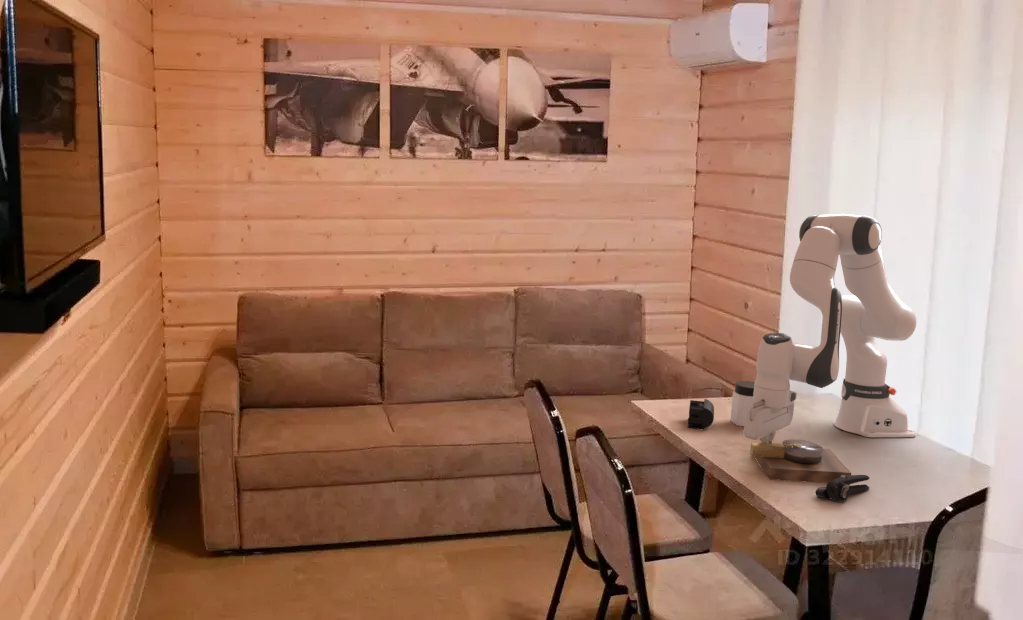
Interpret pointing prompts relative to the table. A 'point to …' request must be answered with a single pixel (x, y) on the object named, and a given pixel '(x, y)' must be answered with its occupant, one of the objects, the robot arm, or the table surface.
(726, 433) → the table surface
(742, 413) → the jar
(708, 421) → the end cap
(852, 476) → the can opener
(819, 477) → the base
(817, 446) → the small frying pan
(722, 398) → the table surface
